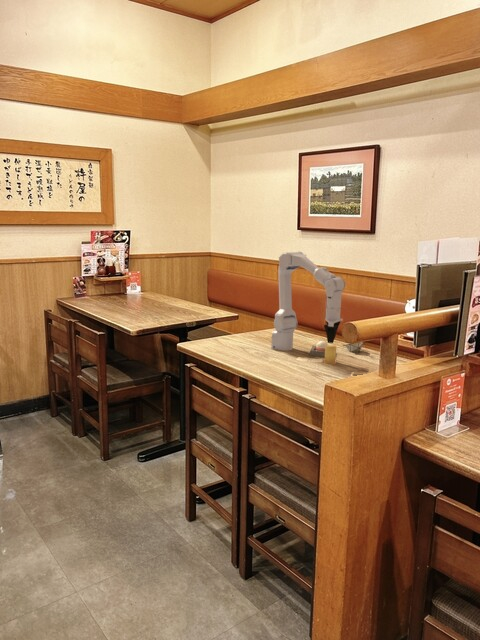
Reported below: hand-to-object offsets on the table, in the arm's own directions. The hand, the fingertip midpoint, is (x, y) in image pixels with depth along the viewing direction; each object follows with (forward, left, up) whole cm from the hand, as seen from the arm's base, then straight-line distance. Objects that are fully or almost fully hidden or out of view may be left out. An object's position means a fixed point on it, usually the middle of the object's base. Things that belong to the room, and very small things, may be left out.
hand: (331, 340), depth 204 cm
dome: (-4, +11, -8) cm, 14 cm away
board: (-5, +6, -10) cm, 13 cm away
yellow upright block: (0, 0, -9) cm, 9 cm away
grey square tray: (-4, +11, -9) cm, 15 cm away
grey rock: (+9, +22, -10) cm, 26 cm away
